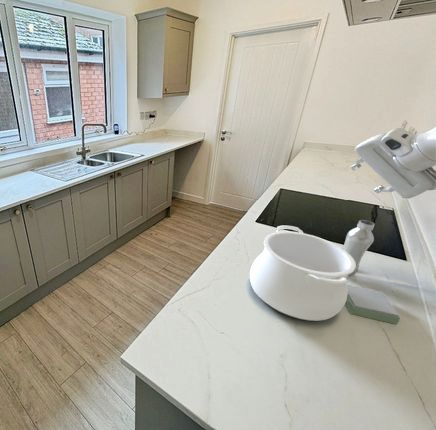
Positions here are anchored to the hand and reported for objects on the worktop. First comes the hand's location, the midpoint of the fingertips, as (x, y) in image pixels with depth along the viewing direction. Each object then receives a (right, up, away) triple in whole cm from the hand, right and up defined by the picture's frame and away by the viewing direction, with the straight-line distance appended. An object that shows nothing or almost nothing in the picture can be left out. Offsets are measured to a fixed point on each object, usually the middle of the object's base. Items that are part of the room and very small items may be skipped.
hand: (364, 179), depth 83 cm
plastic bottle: (0, -32, +8) cm, 33 cm away
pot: (-24, -37, -1) cm, 44 cm away
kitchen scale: (-5, -38, -5) cm, 39 cm away
